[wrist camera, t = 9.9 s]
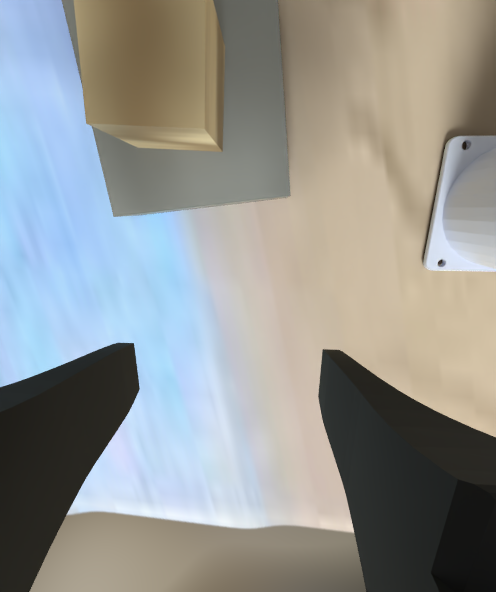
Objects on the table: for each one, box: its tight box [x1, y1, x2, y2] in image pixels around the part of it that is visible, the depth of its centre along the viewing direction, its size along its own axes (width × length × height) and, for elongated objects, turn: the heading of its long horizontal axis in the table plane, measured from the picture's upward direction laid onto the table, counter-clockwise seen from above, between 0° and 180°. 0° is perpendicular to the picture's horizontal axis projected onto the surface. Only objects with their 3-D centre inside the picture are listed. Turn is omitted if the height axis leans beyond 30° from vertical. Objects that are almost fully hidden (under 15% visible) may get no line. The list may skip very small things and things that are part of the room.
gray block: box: [62, 0, 290, 217], centre depth 16 cm, size 10×10×4 cm
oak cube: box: [74, 0, 225, 152], centre depth 12 cm, size 4×4×4 cm
